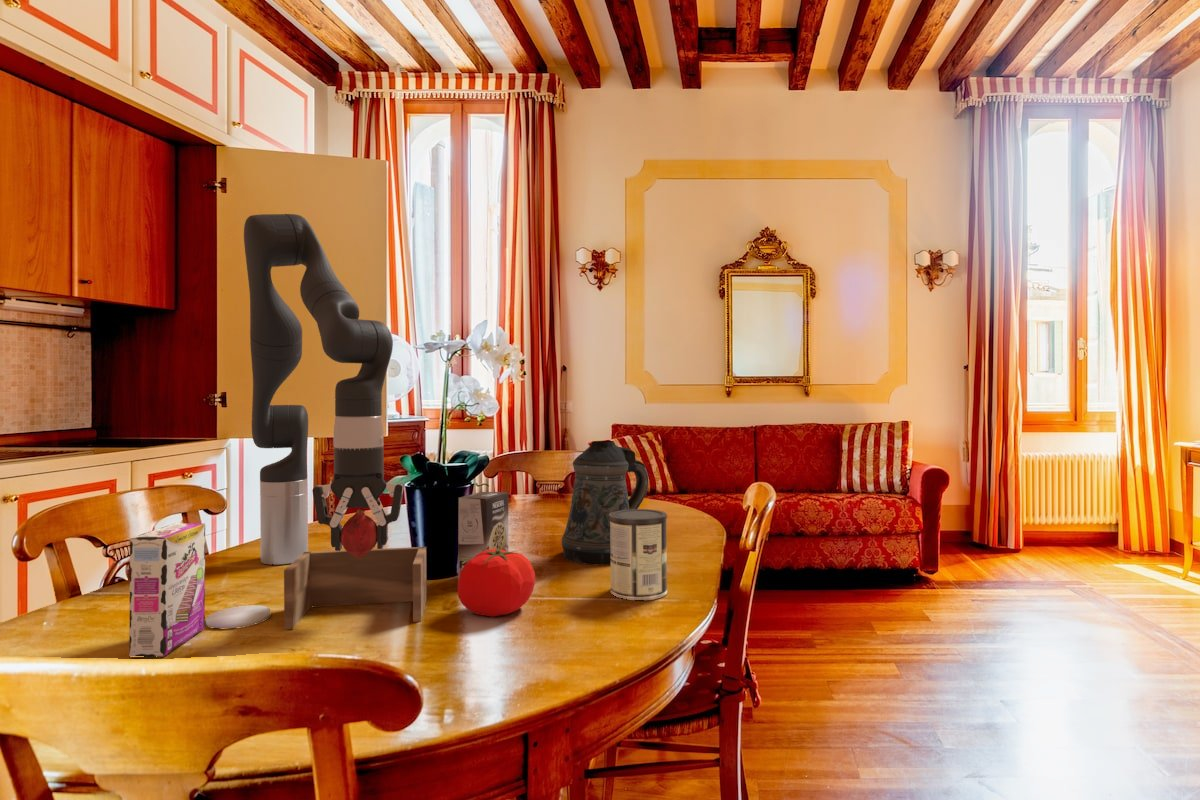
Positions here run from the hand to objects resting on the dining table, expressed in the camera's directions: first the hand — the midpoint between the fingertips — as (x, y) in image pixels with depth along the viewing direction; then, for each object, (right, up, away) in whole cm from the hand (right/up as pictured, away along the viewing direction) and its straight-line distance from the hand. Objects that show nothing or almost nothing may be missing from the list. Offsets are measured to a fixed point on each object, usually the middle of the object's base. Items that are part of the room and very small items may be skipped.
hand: (359, 548), depth 108 cm
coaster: (-19, -11, -2) cm, 22 cm away
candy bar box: (-23, -11, -12) cm, 28 cm away
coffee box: (+16, -11, +22) cm, 29 cm away
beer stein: (+39, -10, +40) cm, 57 cm away
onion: (0, -2, 0) cm, 2 cm away
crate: (0, -11, +1) cm, 11 cm away
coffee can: (+46, -11, +12) cm, 48 cm away
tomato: (+22, -11, +2) cm, 25 cm away
